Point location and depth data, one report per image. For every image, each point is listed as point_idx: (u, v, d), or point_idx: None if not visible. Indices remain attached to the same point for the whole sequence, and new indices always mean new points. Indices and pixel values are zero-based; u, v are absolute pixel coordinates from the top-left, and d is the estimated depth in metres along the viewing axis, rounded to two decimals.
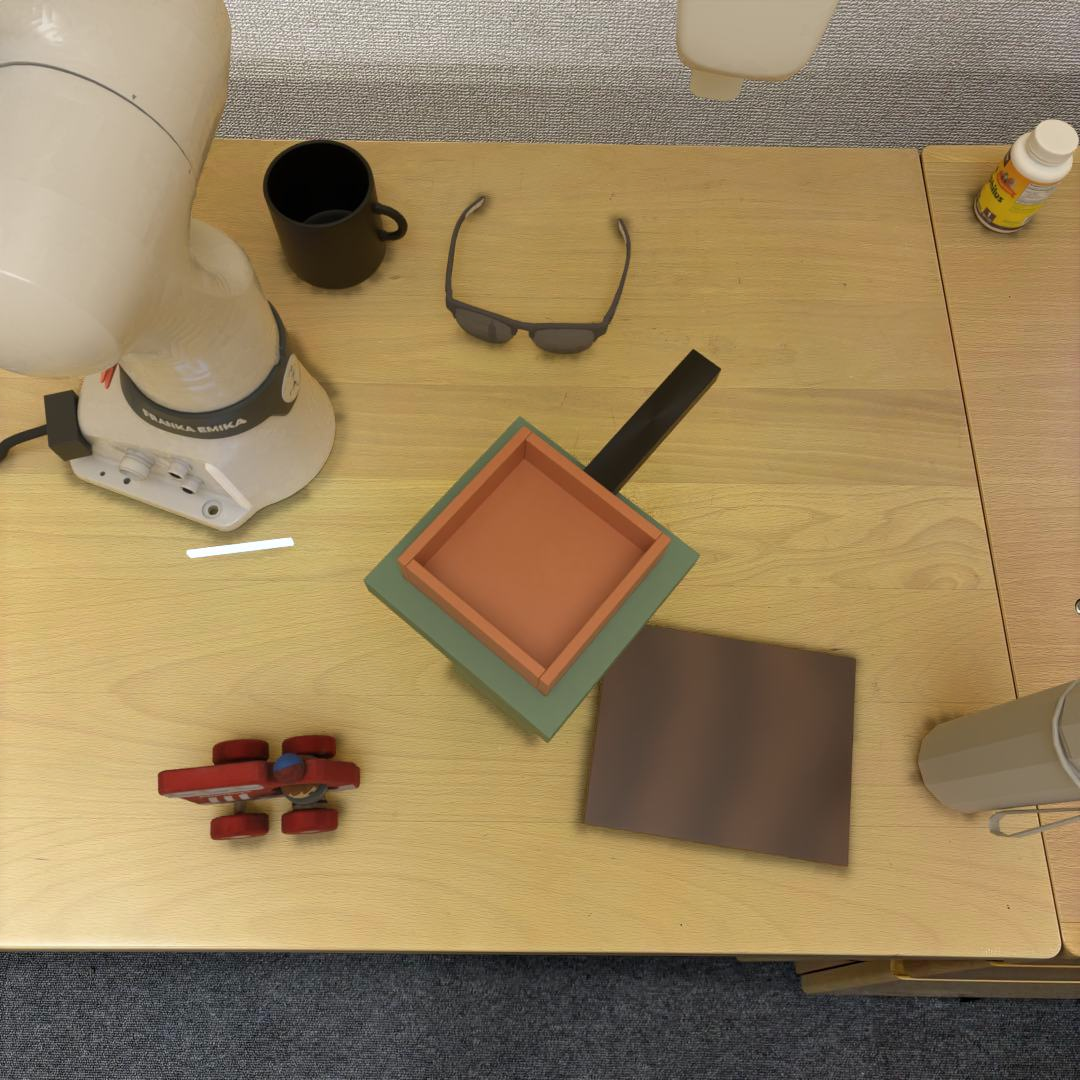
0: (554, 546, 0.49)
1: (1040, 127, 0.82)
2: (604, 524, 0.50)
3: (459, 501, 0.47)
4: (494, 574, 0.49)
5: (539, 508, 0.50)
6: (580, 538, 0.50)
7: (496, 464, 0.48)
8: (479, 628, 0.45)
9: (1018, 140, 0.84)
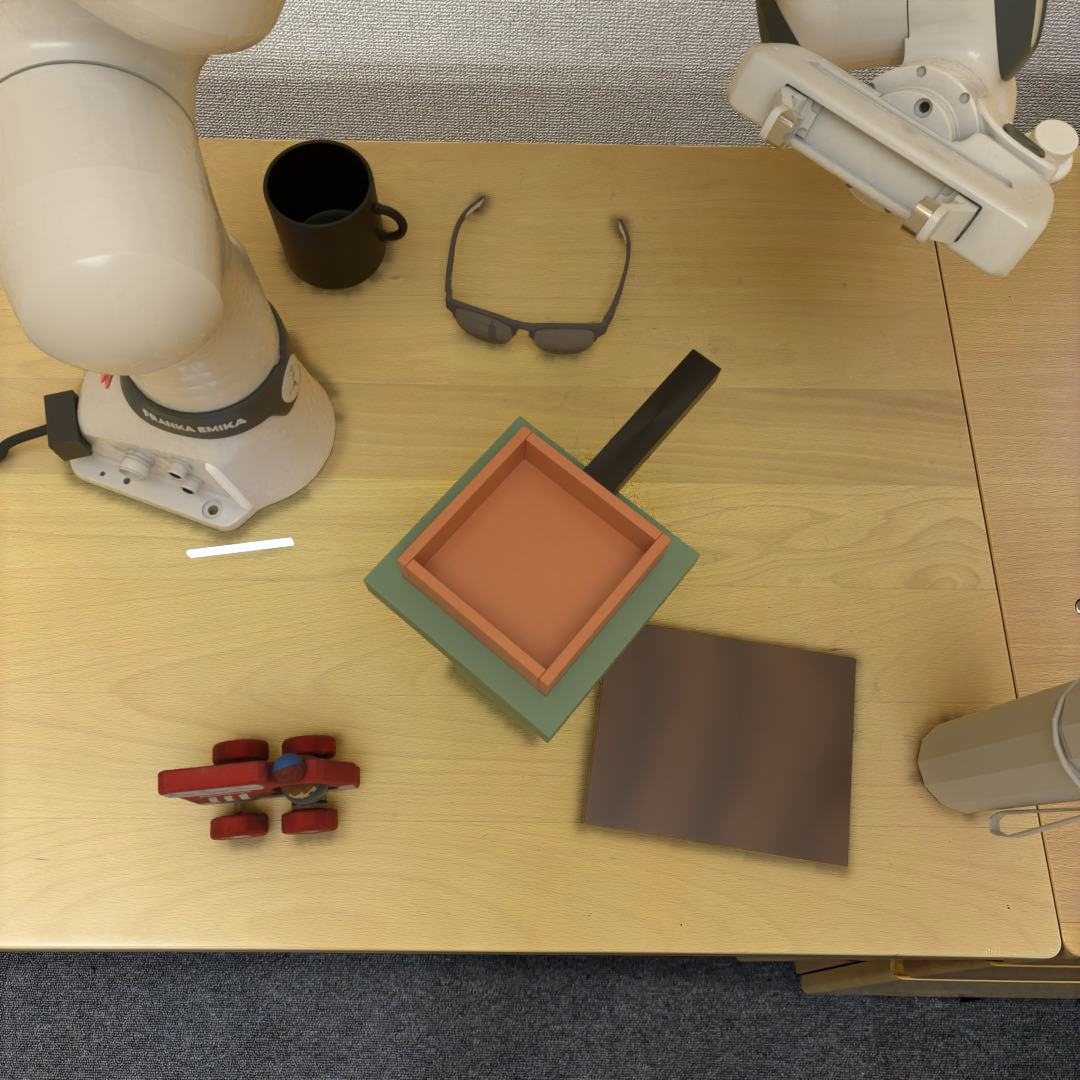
0: (554, 546, 0.49)
1: (1040, 127, 0.82)
2: (604, 524, 0.50)
3: (459, 501, 0.47)
4: (494, 574, 0.49)
5: (539, 508, 0.50)
6: (580, 538, 0.50)
7: (496, 464, 0.48)
8: (479, 628, 0.45)
9: None
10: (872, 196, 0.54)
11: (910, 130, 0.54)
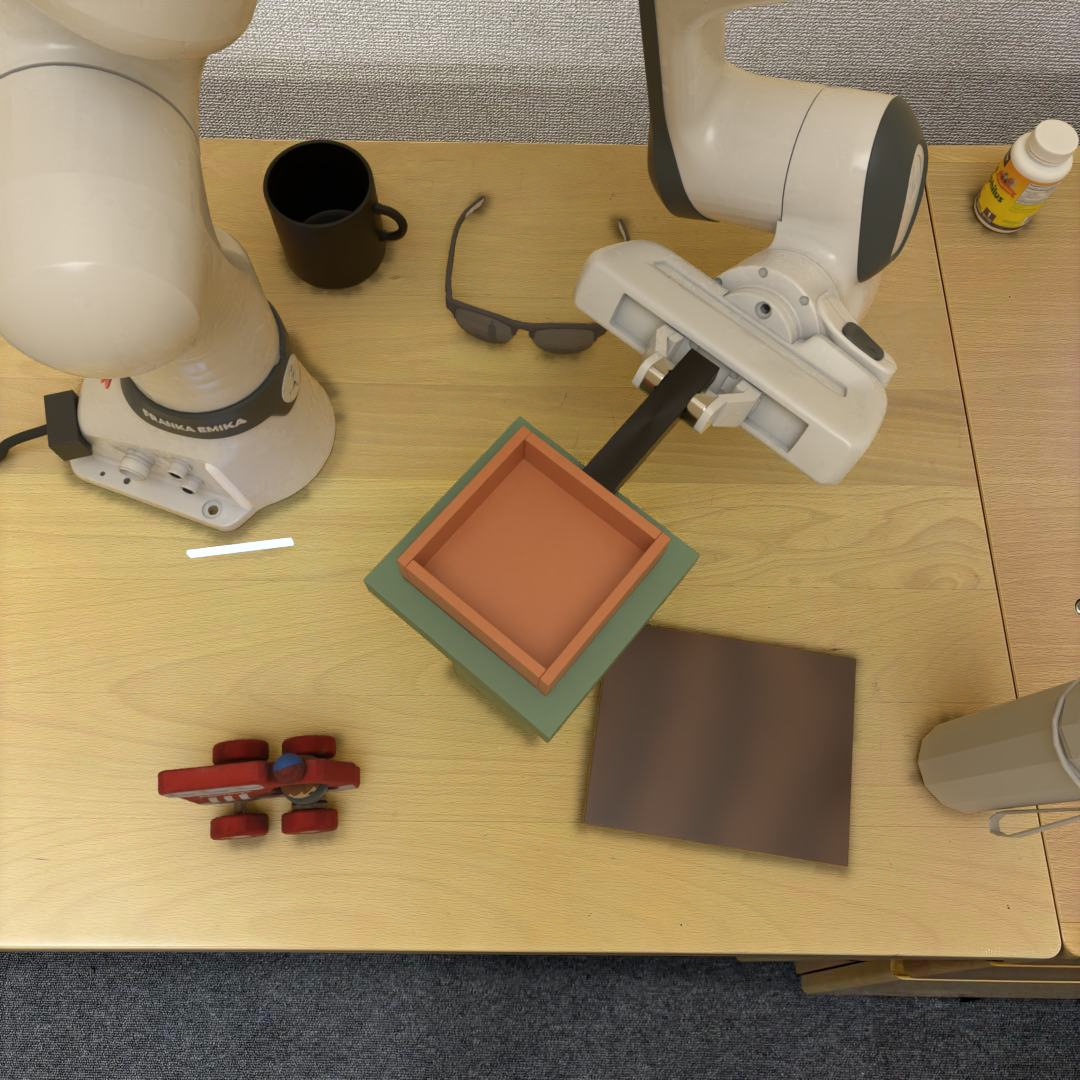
0: (554, 546, 0.49)
1: (1040, 127, 0.82)
2: (604, 524, 0.50)
3: (459, 501, 0.47)
4: (494, 574, 0.49)
5: (539, 508, 0.50)
6: (580, 538, 0.50)
7: (495, 464, 0.48)
8: (479, 628, 0.45)
9: (1018, 140, 0.84)
10: None
11: (746, 338, 0.55)
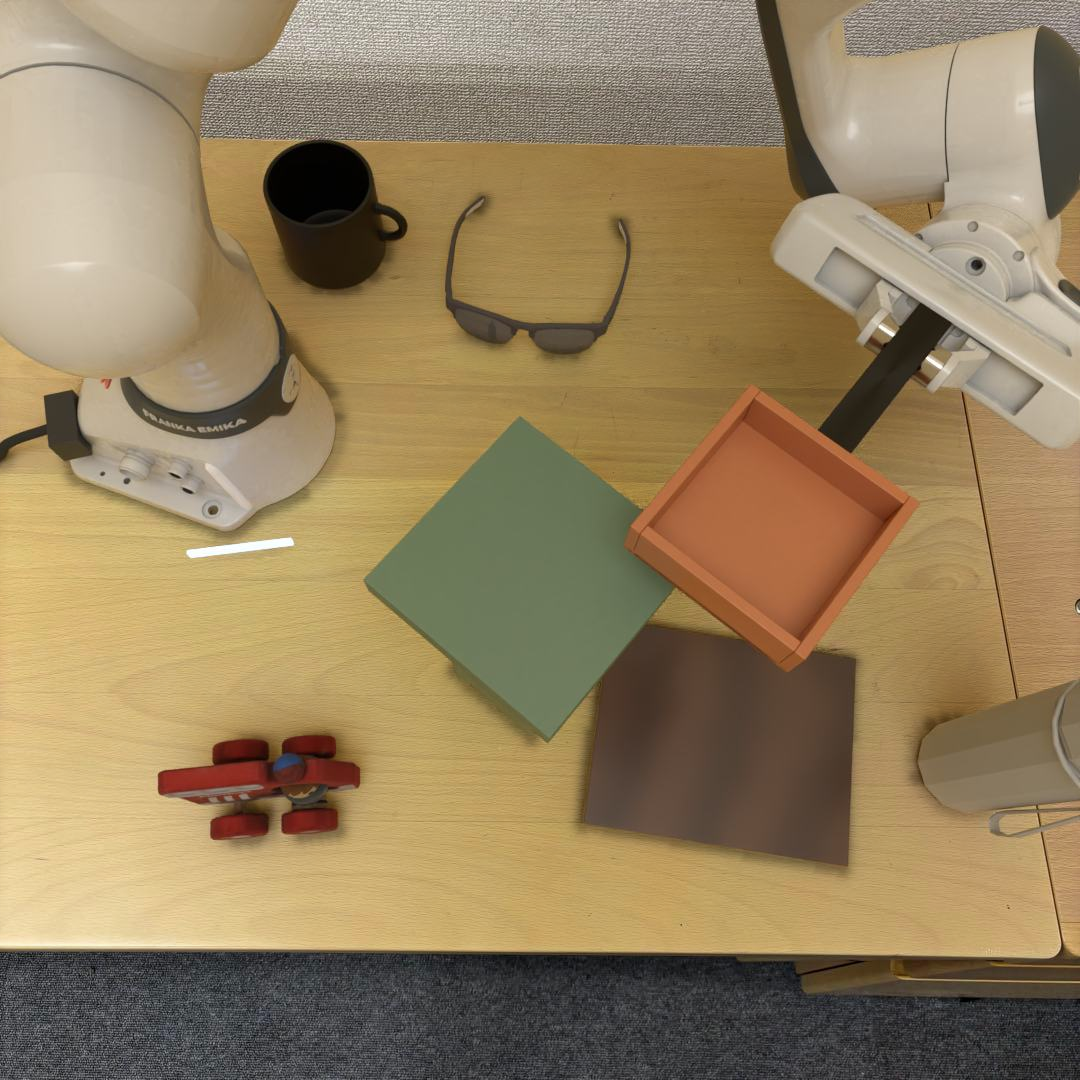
0: (783, 513, 0.46)
1: None
2: (833, 489, 0.47)
3: (691, 464, 0.44)
4: (722, 543, 0.46)
5: (763, 473, 0.47)
6: (810, 504, 0.46)
7: (726, 425, 0.45)
8: (725, 598, 0.42)
9: None
10: None
11: (964, 295, 0.51)
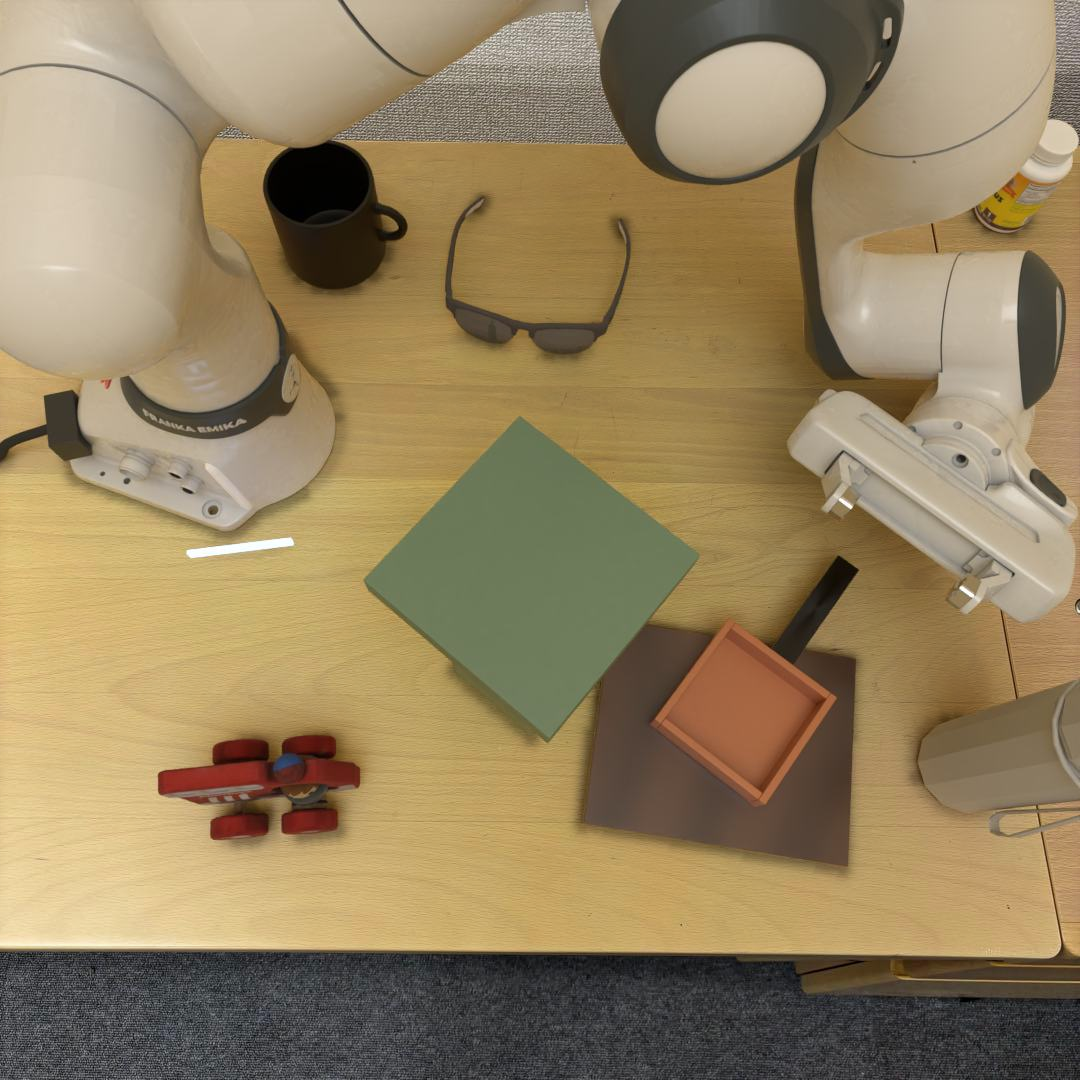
0: (751, 700, 0.72)
1: None
2: (783, 682, 0.72)
3: (691, 675, 0.70)
4: (712, 721, 0.71)
5: (738, 672, 0.72)
6: (768, 693, 0.72)
7: (713, 647, 0.70)
8: (715, 765, 0.68)
9: None
10: (916, 547, 0.61)
11: (950, 490, 0.61)
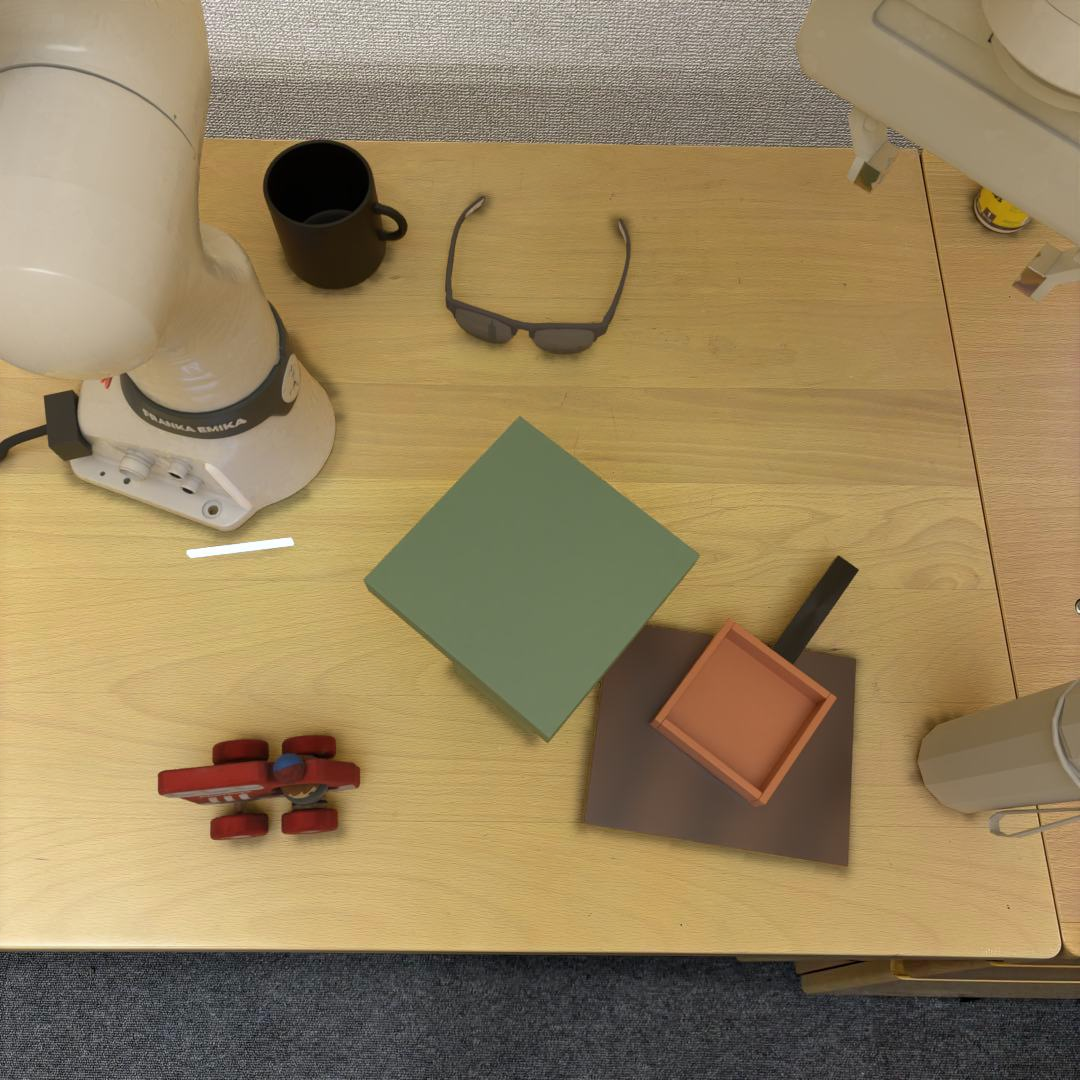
0: (751, 700, 0.72)
1: None
2: (783, 682, 0.72)
3: (691, 675, 0.70)
4: (712, 721, 0.71)
5: (738, 672, 0.72)
6: (768, 693, 0.72)
7: (713, 647, 0.70)
8: (715, 765, 0.68)
9: None
10: None
11: (1019, 143, 0.37)
